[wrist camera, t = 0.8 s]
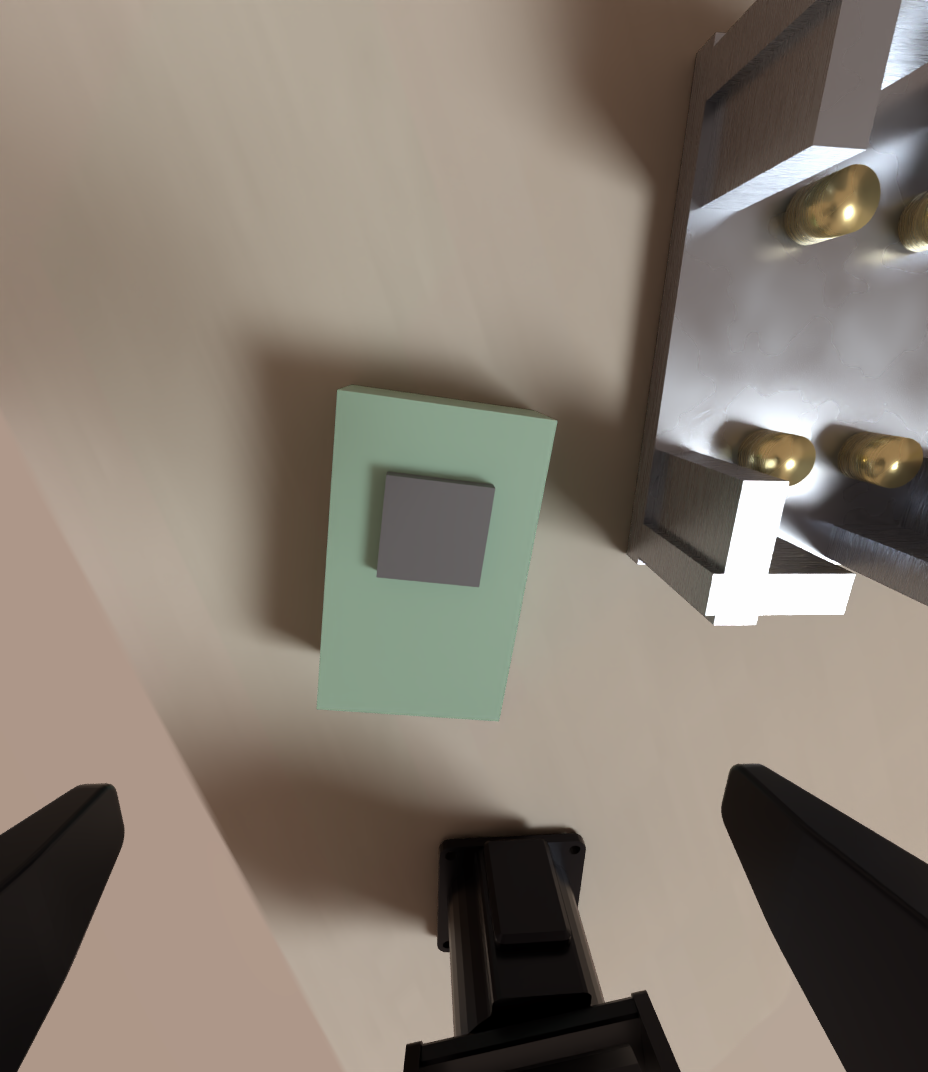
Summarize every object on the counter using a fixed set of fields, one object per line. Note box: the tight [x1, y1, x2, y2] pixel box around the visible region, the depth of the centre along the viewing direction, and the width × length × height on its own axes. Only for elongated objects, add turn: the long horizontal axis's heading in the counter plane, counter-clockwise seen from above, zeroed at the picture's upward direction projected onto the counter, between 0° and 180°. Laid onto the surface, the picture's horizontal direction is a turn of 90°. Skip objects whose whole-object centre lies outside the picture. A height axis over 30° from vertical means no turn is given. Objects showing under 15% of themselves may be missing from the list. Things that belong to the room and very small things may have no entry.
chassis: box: [627, 0, 928, 625], centre depth 15 cm, size 15×11×6 cm
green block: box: [317, 385, 557, 721], centre depth 17 cm, size 10×6×4 cm, turn 172°
